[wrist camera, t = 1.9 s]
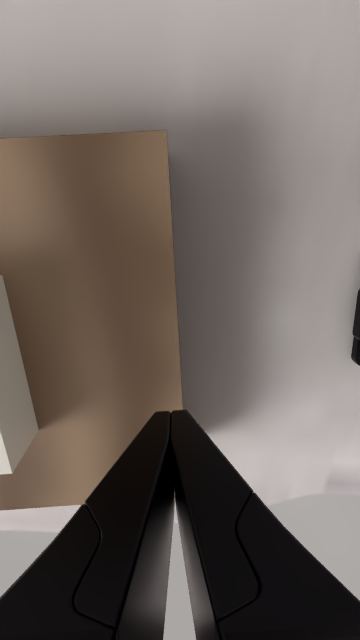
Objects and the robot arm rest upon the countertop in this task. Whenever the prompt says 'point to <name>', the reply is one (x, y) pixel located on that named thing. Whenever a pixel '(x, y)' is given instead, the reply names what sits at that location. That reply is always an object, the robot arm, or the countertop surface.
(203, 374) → the countertop surface
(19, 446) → the tile
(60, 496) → the brown flat block
